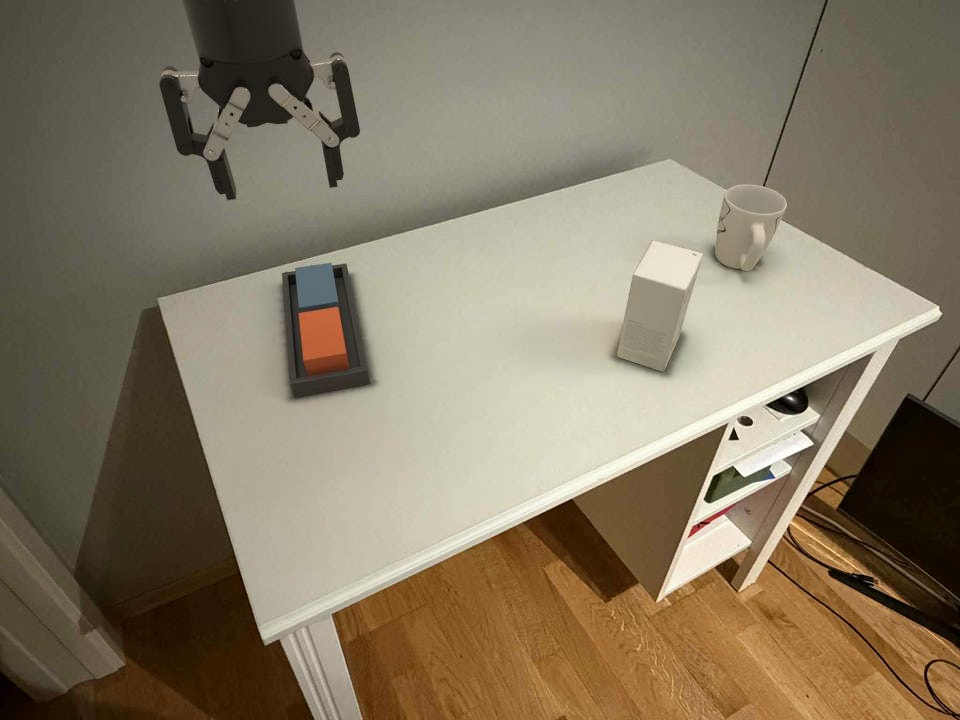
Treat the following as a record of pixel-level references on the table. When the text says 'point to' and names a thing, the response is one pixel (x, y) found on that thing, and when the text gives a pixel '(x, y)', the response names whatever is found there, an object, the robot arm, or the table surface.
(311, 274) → the seated pad
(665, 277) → the small box
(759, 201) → the mug
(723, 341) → the table surface
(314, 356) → the orange block
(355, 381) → the frame
